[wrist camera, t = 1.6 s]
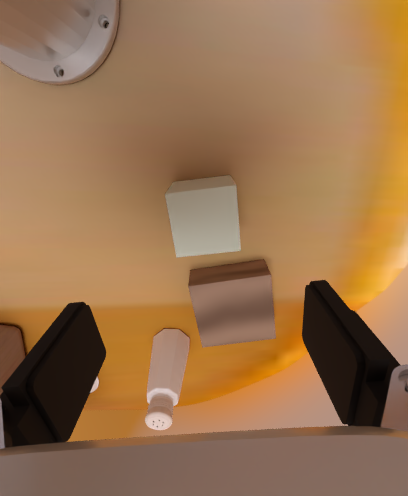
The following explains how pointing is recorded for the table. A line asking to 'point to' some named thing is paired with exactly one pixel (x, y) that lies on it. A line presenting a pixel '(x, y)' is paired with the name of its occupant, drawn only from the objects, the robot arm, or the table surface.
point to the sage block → (204, 216)
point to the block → (10, 352)
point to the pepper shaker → (166, 376)
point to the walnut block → (233, 303)
